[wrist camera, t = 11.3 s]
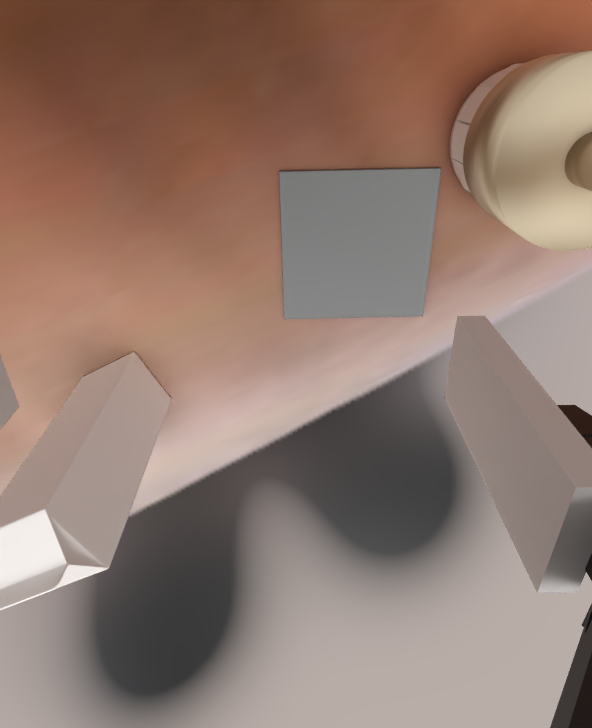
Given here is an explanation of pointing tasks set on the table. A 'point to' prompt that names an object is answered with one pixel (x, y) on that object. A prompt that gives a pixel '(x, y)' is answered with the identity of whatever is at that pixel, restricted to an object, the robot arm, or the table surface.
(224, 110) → the table surface
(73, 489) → the milk
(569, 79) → the beige round piece
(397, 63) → the table surface
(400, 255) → the mat
